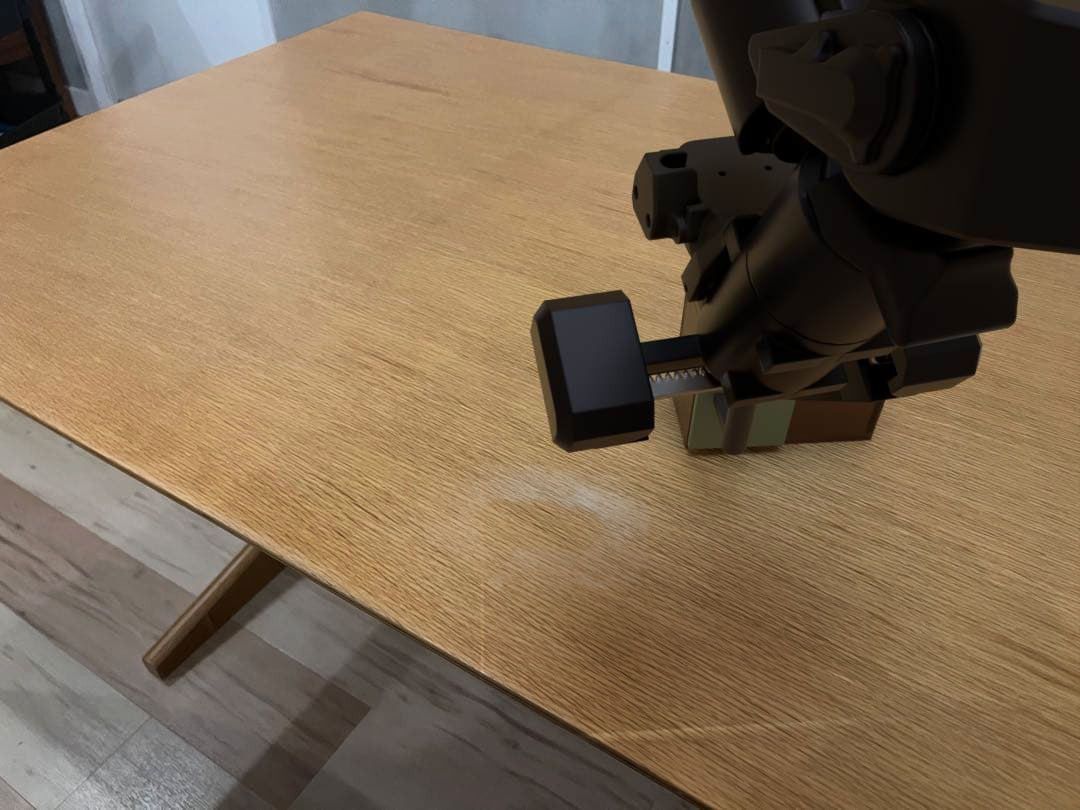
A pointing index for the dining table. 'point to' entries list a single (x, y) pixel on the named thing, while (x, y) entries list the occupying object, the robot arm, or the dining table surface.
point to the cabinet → (807, 417)
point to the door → (737, 423)
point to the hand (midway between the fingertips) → (701, 403)
